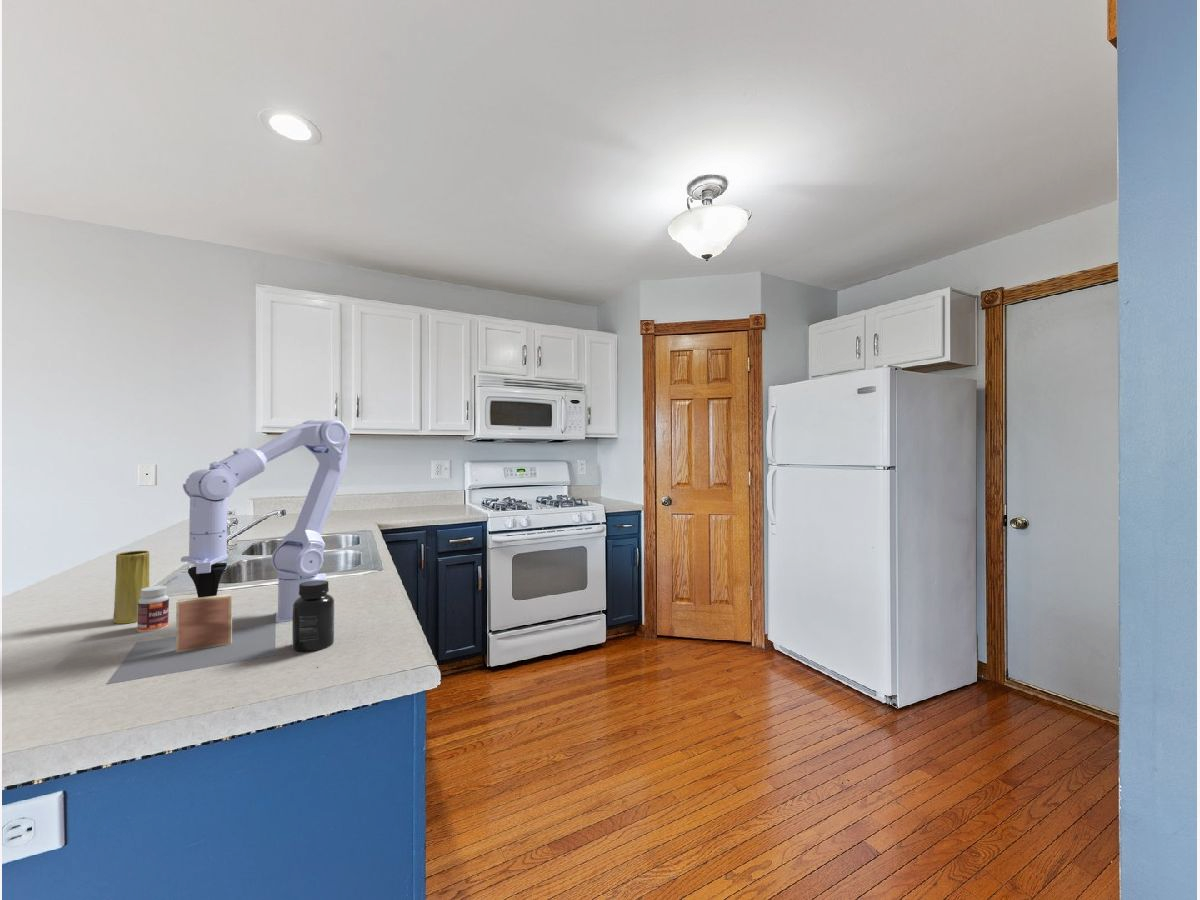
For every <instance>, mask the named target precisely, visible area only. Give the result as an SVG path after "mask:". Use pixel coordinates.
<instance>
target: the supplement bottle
mask: <svg viewBox="0 0 1200 900" xmlns="http://www.w3.org/2000/svg"><path fill="white" fill-rule="evenodd" d="M326 580H327V579H326ZM326 580H315V581H308V582H304V583H301V584H300V585H299V595H300V598H298V599H297V600H296V601H295V602H294V603H293V620H292V622H291V623H292V624H291V625H292V627H291V628H292V631H291V632H292V637H291V639H292V641H291V643H292V645H291V646H292V651H294V652H297V653H311V652H313V653H314V652H317V651H323V650H325V649H327V648H330V647H332V646H333V645H334V643H335V599H334V597H333V596H332V595H330V594H329V593H328V592H329V591H330V588H329V581H328V580H327V581H326Z"/></svg>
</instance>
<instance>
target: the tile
mask: <svg viewBox="0 0 1200 900" xmlns="http://www.w3.org/2000/svg"><path fill="white" fill-rule="evenodd" d="M175 606H176V611H175V612H176V613H175V614H176V616H175V617H176V618H175V619H176V620H175V621H176V622H175V637H176V653H177V652H184V651H190V650H197V649H203V648H209V647H216V646H222V645H229V644H231V642H232V629H233V593H228V594H226V593H225V594H217V596H208V597H199V598H198V597H192V598H191V597H190V598H184V599H183V598H182V599H177V601H176V605H175Z"/></svg>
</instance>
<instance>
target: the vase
mask: <svg viewBox="0 0 1200 900" xmlns="http://www.w3.org/2000/svg"><path fill="white" fill-rule="evenodd" d="M114 585H115V586H114V602H113V603H114V606H113V617H112V623H113V624H116V625H123V624H124V625H126V624H134V623H138V601H139V600H140V599H141V598H142V597H141V596H140V593H141V589H143V588H147V587H150V551H149V550H132V551H124V552H120V553H119V552H118V553H116V556H115V584H114Z"/></svg>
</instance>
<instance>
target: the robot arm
mask: <svg viewBox="0 0 1200 900" xmlns="http://www.w3.org/2000/svg"><path fill="white" fill-rule="evenodd" d="M350 438H351V435H350V432H349V431H348V429H347V427H346V425H345V424H344V423H343V422H342V421H340V420H338V419H329V420H328V419H327V420H325V419H324V420H314V419H313V420H306V421H303V422H302V423H299V424H296V425H294V426H292V427H291V428H290V429H289V430H286V431H285V432H284V433H282V434H280V435H277V436H276V437H274V438H273V439H272V440H270V441H268V442H266V443H265V444H263V445H261V446H259V447H258V448H256V449H254V448H251V447H245V448H240V447H239V448H236V449H234V450H233V451H232V453H233V454H232V455H230V456H228V457H226V458H224V459H222V460H220V461H213V462H211V463H209V468H208V469H206V468H205V469H204V468H203V469H198V470H195V471H193V472H191V473H190V474H189V475H188V477H187V478H186V480H185V483H183V484H182V489H183V491H184V493H185V495H187V496H188V497H189V526H188V527H189V529H188V531H189V533H188V534H189V535H188V536H189V541H188V544H189V545H188V556H187V555H186V556H181V558H180V562H182V563H184V562H187V563H190V564H191V565H193V566H191V567H190V568H188V570H187V573H188V575H189V577H190V578H191V580H192V582H193V583H194V584H193V585H194V587H195V589H196V594H197V598H199V597H208V596H217V595H218V591H219V586H220V581H221V577H222V576H223V573H224V572H225V570H226V568H227V565H228V563H227V562H222V561H224V560H225V561H226V560H227V559H228V558H229V554H228V553H227V551H228V547H227V546H228V498H229V497H230V496H231V495H232V494H233V493H234V490H235V489H236V488H238V487H239V486H241V485H242V484H244V483H246V482H247V481H250V480H251V479H253V478H254V477H256V476H258V475H260V474H262V473H263V472H264V471H265V469H266V467H267V463H269V462H271V461H273V460H276V459H277V458H278V457H281V456H282V455H285V454H287V453H289V452H291V451H293V450H295V449H297V448H298V447H301V446H304V447H305V448H306V449H307V450H308V451H309V452H310V453H311V454H312V455H313V456H314V457H315V458H316V460H317V462H318V467H317V469H316V472H315V475H314V477H313V479H312V481H311V482H312V483H311V485H310V487H309V490H308V493H307V495H306V496H305V497H306V498H305V500H304V503H303V505H302V508H301V511H300V513H299V515H298V518H297V520H296V523H295V526H294V528H293V529H292V530H291V531H290V532H288V533H287V534H286V535H284V537H283V539H282V541H281V543H280V544H279V545H278V546H277V547H276V548H275V550H274V551H273V553H272V555H271V564H272V566H273V568H274V570H276V571H277V576H278V581H277V587H278V589H277V590H278V591H277V611H275V623H276V624H278V623H285V622H293V603H294V602H295V601H296V600H297V599H298V598H300V595H299V585H300V584H301V583H304V582H308V581H315V580H326V581H328V579H327V574H326V573H325V572H323V573H318V572H319V571H320V570H321V568H322V566H323V565H324V551H325V548H326V543H325V541H324V539H323V537H322V535H321V534H322V533H323V530H324V526H325V525H326V522H327V518H328V517H329V513H330V511H331V508H332V505H333V502H334V500H335V497H336V495H337V493H338V489H339V487H340V484H341V481H342V478H343V475H344V472H345V470H346V468H347V464H348V444H349V441H350Z"/></svg>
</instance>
